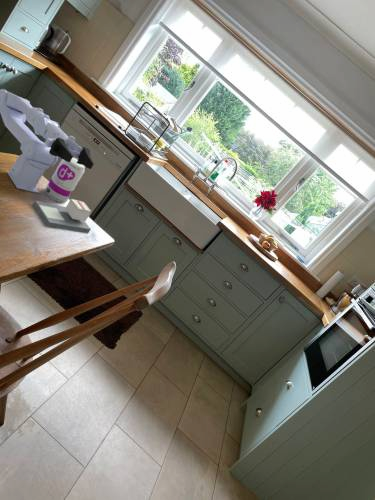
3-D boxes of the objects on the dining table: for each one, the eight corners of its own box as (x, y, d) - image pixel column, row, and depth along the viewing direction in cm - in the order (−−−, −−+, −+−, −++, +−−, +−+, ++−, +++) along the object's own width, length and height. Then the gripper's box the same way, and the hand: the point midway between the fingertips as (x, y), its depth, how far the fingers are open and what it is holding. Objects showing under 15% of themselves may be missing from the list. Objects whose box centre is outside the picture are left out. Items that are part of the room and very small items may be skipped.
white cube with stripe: (65, 208, 126) (71, 198, 125) (78, 211, 131) (84, 201, 129) (72, 218, 124) (78, 208, 122) (85, 221, 128) (91, 211, 127)
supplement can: (58, 205, 131) (79, 169, 126) (39, 190, 131) (60, 154, 126) (70, 201, 139) (90, 168, 134) (52, 188, 139) (72, 153, 134)
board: (33, 204, 121) (35, 200, 120) (74, 212, 134) (76, 209, 133) (47, 226, 115) (49, 222, 115) (88, 232, 129) (90, 228, 128)
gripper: (44, 121, 111) (66, 142, 104) (84, 137, 123) (106, 157, 116) (34, 142, 113) (55, 165, 106) (74, 156, 125) (95, 177, 118)
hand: (81, 162), depth 111 cm, fingers open, 7 cm apart
